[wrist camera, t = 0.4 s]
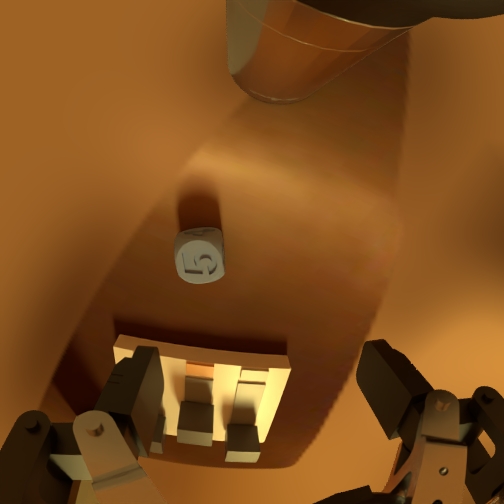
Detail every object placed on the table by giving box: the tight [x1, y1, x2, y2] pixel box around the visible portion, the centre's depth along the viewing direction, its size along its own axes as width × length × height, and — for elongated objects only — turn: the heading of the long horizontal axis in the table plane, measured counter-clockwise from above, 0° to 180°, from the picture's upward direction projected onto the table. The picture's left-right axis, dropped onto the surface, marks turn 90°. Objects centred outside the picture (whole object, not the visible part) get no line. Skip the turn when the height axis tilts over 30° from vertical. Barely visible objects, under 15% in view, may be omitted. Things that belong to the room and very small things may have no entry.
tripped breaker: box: [177, 401, 214, 446], centre depth 28 cm, size 3×4×4 cm
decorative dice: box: [174, 227, 225, 284], centre depth 25 cm, size 4×4×4 cm
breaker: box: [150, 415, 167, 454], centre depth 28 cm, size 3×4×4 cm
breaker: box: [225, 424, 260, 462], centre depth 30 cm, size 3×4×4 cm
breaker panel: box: [113, 334, 291, 442], centre depth 32 cm, size 16×20×3 cm
